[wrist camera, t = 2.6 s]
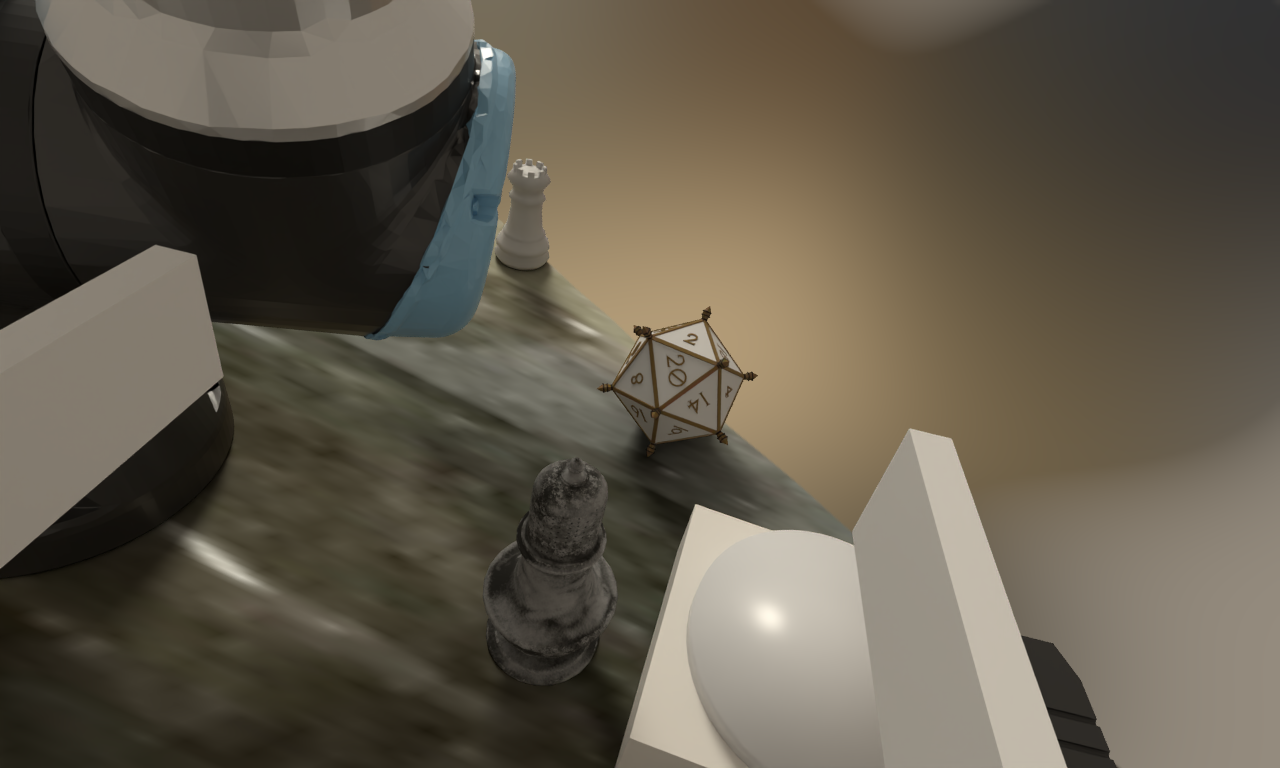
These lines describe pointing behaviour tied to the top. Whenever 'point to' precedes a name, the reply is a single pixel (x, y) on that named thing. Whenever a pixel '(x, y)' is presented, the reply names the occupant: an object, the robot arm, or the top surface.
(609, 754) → the top surface
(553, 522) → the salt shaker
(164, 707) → the top surface
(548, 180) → the rook chess piece
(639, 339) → the game die
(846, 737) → the kitchen scale
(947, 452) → the robot arm
